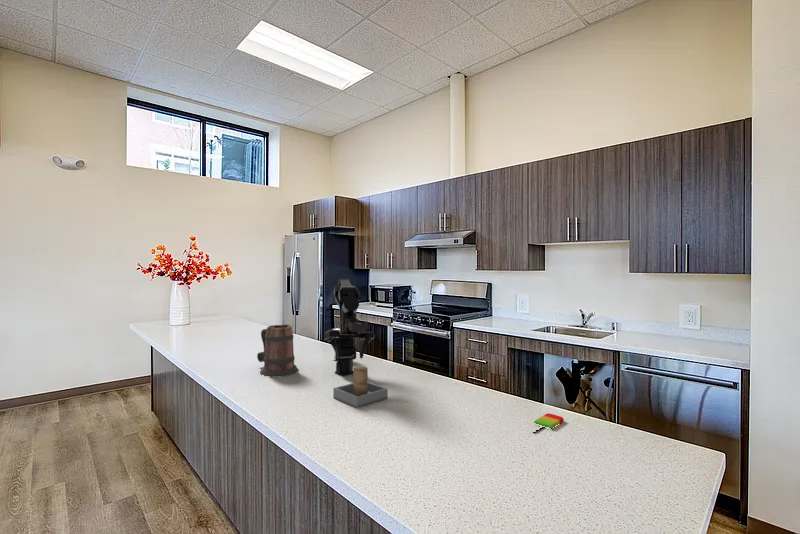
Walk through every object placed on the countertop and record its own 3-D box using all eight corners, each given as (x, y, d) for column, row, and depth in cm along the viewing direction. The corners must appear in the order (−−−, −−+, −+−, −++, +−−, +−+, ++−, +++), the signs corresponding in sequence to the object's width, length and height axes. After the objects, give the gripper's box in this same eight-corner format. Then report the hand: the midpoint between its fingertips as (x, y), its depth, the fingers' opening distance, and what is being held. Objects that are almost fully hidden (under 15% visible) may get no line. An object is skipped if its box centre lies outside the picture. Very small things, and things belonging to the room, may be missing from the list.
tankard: (307, 370, 178) (307, 325, 177) (274, 379, 164) (274, 330, 164) (274, 362, 192) (274, 320, 192) (242, 369, 178) (242, 325, 178)
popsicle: (565, 423, 122) (565, 417, 122) (542, 438, 111) (542, 431, 111) (547, 418, 126) (547, 412, 126) (524, 432, 115) (524, 425, 115)
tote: (363, 389, 151) (363, 380, 151) (387, 398, 142) (387, 388, 142) (333, 397, 142) (333, 388, 142) (357, 408, 132) (357, 397, 132)
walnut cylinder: (356, 393, 145) (356, 366, 145) (369, 394, 144) (369, 367, 143) (351, 398, 140) (351, 369, 140) (364, 399, 139) (364, 370, 139)
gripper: (335, 310, 145) (335, 354, 139) (380, 314, 154) (382, 355, 149) (323, 318, 153) (323, 359, 148) (366, 320, 163) (368, 359, 158)
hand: (350, 358), depth 150 cm, fingers open, 9 cm apart
